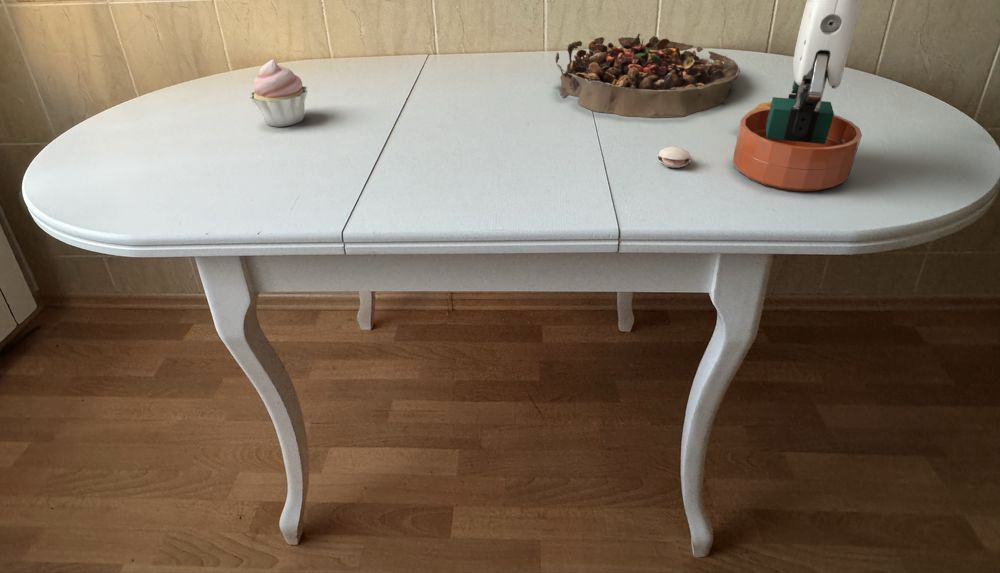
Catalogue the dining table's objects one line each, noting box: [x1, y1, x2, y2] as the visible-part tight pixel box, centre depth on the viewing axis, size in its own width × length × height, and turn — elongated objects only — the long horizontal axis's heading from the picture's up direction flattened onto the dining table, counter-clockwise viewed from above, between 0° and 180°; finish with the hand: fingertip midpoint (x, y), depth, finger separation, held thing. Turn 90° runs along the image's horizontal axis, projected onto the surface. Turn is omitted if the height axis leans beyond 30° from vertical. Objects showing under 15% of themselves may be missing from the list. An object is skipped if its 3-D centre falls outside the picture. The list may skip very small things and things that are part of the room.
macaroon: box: [657, 146, 691, 169], centre depth 86 cm, size 4×5×2 cm
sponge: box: [766, 96, 835, 144], centre depth 80 cm, size 7×4×4 cm, turn 72°
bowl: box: [733, 108, 863, 192], centre depth 82 cm, size 14×14×6 cm
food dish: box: [555, 33, 741, 119], centre depth 113 cm, size 35×33×8 cm
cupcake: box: [249, 59, 308, 128], centre depth 102 cm, size 9×9×10 cm
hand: (796, 131), depth 81 cm, fingers closed on sponge, 4 cm apart
